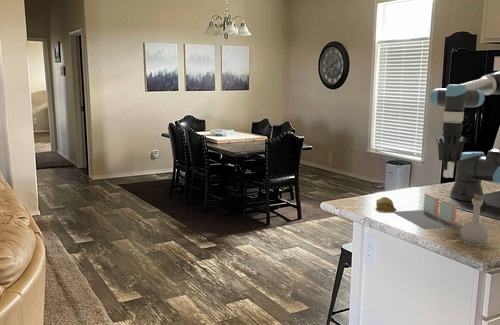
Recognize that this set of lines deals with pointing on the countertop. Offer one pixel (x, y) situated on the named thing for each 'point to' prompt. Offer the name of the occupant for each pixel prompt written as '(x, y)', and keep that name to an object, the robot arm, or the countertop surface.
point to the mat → (425, 219)
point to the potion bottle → (474, 226)
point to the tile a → (431, 204)
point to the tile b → (447, 211)
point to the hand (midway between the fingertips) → (448, 177)
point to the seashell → (385, 205)
